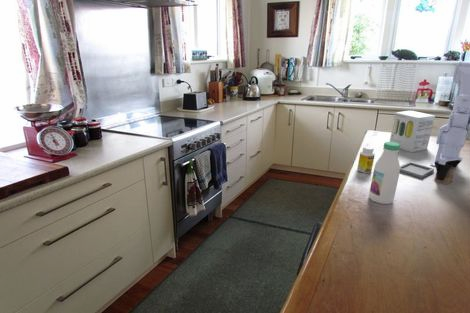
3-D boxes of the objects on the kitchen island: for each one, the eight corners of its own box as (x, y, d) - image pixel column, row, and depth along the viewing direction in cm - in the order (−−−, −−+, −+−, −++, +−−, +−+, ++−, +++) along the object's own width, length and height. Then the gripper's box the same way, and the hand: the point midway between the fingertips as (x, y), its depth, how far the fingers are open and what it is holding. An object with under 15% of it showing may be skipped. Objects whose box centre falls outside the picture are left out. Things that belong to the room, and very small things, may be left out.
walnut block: (438, 177, 127) (442, 163, 125) (451, 181, 123) (455, 167, 121) (434, 180, 124) (438, 166, 122) (447, 184, 121) (451, 170, 119)
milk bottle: (391, 196, 110) (403, 141, 103) (394, 206, 103) (407, 148, 96) (368, 192, 112) (378, 138, 105) (369, 202, 105) (380, 145, 99)
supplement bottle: (365, 174, 128) (370, 150, 124) (354, 170, 132) (358, 146, 129) (374, 171, 131) (378, 148, 127) (362, 167, 135) (366, 144, 131)
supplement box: (387, 144, 166) (394, 112, 160) (404, 141, 172) (411, 110, 166) (411, 152, 155) (419, 117, 149) (427, 149, 161) (436, 115, 155)
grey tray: (408, 164, 139) (409, 161, 139) (433, 172, 132) (434, 168, 132) (396, 170, 132) (396, 167, 132) (421, 179, 125) (422, 175, 124)
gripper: (458, 151, 111) (448, 186, 116) (471, 143, 120) (462, 176, 125) (436, 145, 116) (427, 179, 121) (451, 139, 125) (442, 170, 130)
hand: (443, 177), depth 123 cm, fingers open, 7 cm apart
